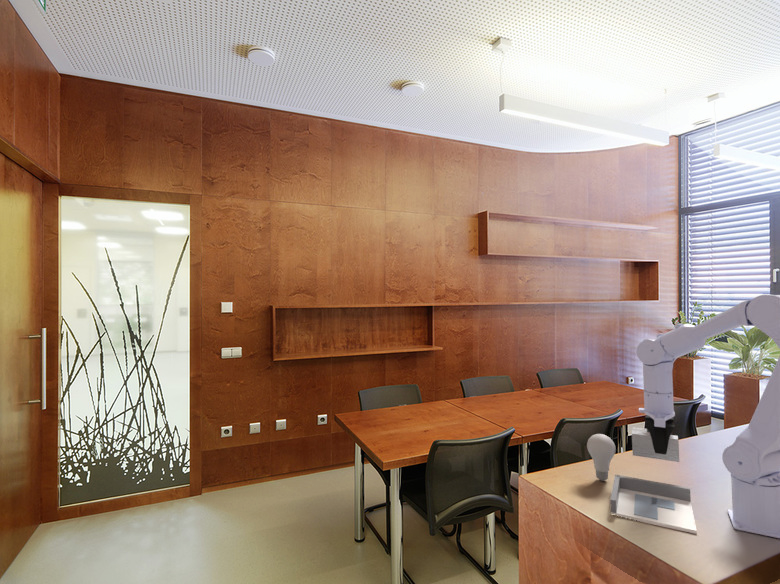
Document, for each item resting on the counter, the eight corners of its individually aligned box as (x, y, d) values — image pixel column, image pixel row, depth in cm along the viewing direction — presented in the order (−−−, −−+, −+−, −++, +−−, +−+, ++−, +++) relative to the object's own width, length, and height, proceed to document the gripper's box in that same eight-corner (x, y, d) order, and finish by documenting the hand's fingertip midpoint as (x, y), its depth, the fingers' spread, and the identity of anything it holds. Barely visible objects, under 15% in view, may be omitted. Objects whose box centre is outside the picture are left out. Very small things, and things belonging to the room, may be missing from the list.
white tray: (690, 502, 89) (689, 487, 89) (696, 534, 77) (696, 517, 77) (615, 488, 96) (615, 474, 96) (610, 515, 84) (610, 499, 84)
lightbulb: (582, 477, 102) (580, 432, 102) (601, 473, 104) (599, 429, 104) (603, 488, 96) (601, 439, 97) (622, 483, 98) (621, 436, 99)
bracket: (677, 453, 98) (676, 432, 98) (679, 462, 93) (678, 439, 93) (633, 447, 103) (632, 427, 103) (632, 455, 98) (631, 433, 98)
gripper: (638, 384, 105) (640, 439, 104) (637, 395, 93) (639, 457, 92) (672, 386, 101) (674, 443, 101) (675, 399, 89) (678, 463, 88)
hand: (660, 450), depth 96 cm, fingers closed on bracket, 3 cm apart
